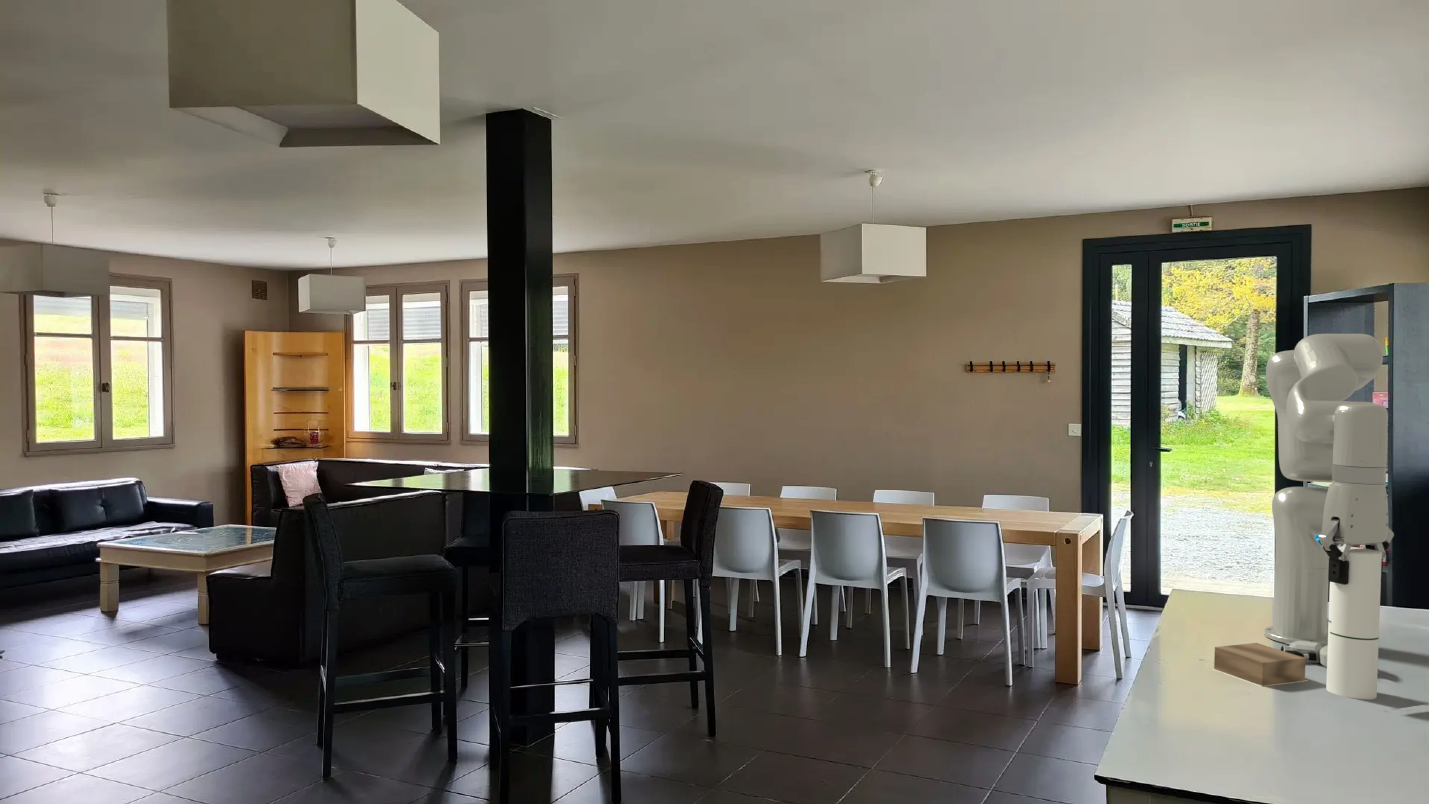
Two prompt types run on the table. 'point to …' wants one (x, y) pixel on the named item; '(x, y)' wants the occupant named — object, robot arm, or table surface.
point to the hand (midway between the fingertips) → (1355, 580)
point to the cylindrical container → (1355, 627)
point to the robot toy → (1308, 651)
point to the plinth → (1259, 664)
